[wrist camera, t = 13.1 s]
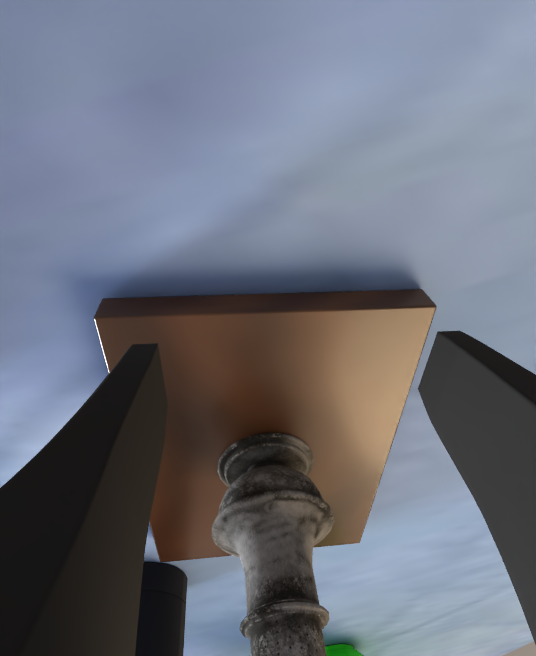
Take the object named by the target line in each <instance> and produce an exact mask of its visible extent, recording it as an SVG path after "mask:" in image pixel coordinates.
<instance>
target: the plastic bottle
mask: <svg viewBox="0 0 536 656" xmlns="http://www.w3.org/2000/svg"><path fill="white" fill-rule="evenodd" d="M325 649H326V655H327V656H363V655H362V654H361V653H359V652H358V651H357V650H354V648H353V646H352V645H346V644H338V645H330V646H326V647H325Z"/></svg>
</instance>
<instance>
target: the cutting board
mask: <svg viewBox="0 0 536 656" xmlns="http://www.w3.org/2000/svg"><path fill="white" fill-rule="evenodd" d="M435 310H436V305H435V303H434V302H433V301H432V300H431V299H430V298H429V296H428V295H427V294H426V293H425V292H424V291H423V290H422V289H414V290H380V291H345V292H311V293H277V294H243V295H209V296H175V297H141V298H107V299H102V301H101V303H100V305H99V307H98V310H97V312H96V314H95V316H94V321H95V325H96V328H97V332H98V336H99V339H100V343H101V347H102V350H103V354H104V358H105V361H106V365H107V369H108V372H109V373H110V372H111V370H112V369H113V368H114V366H115V365H116V364H117V363H118V361H119V360H120V359H121V357H122V356H123V355H124V353H125V352H126V351H127V349H128V348H129V347H130V346H131V345H132V344H151V343H158V347H159V353H160V359H161V365H162V371H163V377H164V383H165V389H166V395H167V401H168V407H167V423H166V435H165V443H164V449H163V454H162V459H161V464H160V470H159V475H158V480H157V485H156V490H155V495H154V500H153V505H152V510H151V516H150V521H149V522H150V526H151V530H152V533H153V537H154V541H155V544H156V548H157V552H158V555H159V559H160V562H170V561H180V560H190V559H200V558H210V557H221V556H231V554H229V553H227V552H225V551H223V550H222V549H221V548H220V547H218V546H217V545H216V544H215V542H214V540H213V538H212V524H213V523H214V521H215V519H216V517H217V516H218V514H219V507H220V504H221V502H222V499H223V497H224V494H225V492H226V491H227V489H228V486H227V485H225V483H224V482H223V481H222V480H221V479H220V477H219V474H218V461H219V459H220V457H221V455H222V453H223V452H224V451H225V450H226V449H227V448H228V447H229V446H231V445H232V444H234V443H236V442H237V441H239V440H241V439H244V438H246V437H249V436H252V435H257V434H263V433H282V434H287V435H292V436H294V437H296V438H299V439H301V440H302V441H303V442H305V443H306V444H307V445H308V446H309V447H310V449H311V451H312V453H313V459H314V463H313V466H312V470H311V471H310V472H309V474H308V475H307V477H309V478H310V479H311V481H312V482H313V483H314V485H315V486H316V487H317V489H318V490H319V492H320V493H321V495H322V496H323V500H324V501H325V502H326V503H328V504H329V506H330V507H331V509H332V510H333V513H334V524H333V526H332V529H331V531H330V532H329V533H328V534H327V536H326V537H325V538H324V539H323V540H322V541H320V542H319V543H317V544H316V545H315V546H313V547H322V546H333V545H343V544H353V543H360V540H361V537H362V534H363V531H364V528H365V525H366V522H367V519H368V516H369V513H370V510H371V507H372V504H373V501H374V497H375V494H376V491H377V488H378V485H379V482H380V479H381V476H382V473H383V470H384V467H385V464H386V461H387V458H388V454H389V451H390V448H391V445H392V442H393V439H394V436H395V433H396V430H397V427H398V424H399V421H400V418H401V415H402V411H403V408H404V405H405V402H406V399H407V396H408V393H409V390H410V387H411V384H412V381H413V378H414V375H415V372H416V369H417V365H418V362H419V359H420V356H421V353H422V350H423V347H424V344H425V341H426V338H427V335H428V332H429V329H430V326H431V322H432V319H433V316H434V313H435Z"/></svg>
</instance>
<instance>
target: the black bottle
mask: <svg viewBox="0 0 536 656" xmlns="http://www.w3.org/2000/svg"><path fill="white" fill-rule="evenodd" d="M186 592H187V577H186V575H185V574H184V572H183V571H181V570H179V569H178V568H176V567H173V566H170V565H167V564H161V563H143V573H142V583H141V593H140V604H139V615H138V627H137V638H136V650H135V656H183V648H184V629H185V610H186Z"/></svg>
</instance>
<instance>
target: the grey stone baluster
mask: <svg viewBox="0 0 536 656" xmlns="http://www.w3.org/2000/svg"><path fill="white" fill-rule="evenodd" d="M313 463H314V459H313V453H312V451H311V449H310V447H309V446H308V445H307V444H306V443H305V442H303V441H302V440H301V439H299V438H296V437H294V436H292V435H287V434H282V433H263V434H257V435H252V436H249V437H246V438H244V439H241V440H239V441H237V442H236V443H234V444H232V445H231V446H229V447H228V448H227V449H226V450H225V451H224V452H223V453H222V455H221V457H220V459H219V461H218V474H219V477H220V479H221V480H222V481H223V482H224V483H225V485H227V486H228V489H227V491H226V492H225V494H224V497H223V499H222V502H221V504H220V507H219V514H218V516H217V517H216V519H215V521H214V523H213V524H212V538H213V540H214V542H215V544H216V545H217V546H218V547H220V548H221V549H222V550H223V551H225V552H227V553H229V554H231V555H233V556H237V557H240V559H241V562H242V565H243V569H244V573H245V583H246V601H247V616H246V617H245V619H244V620H243V621H242V622H241V626H240V631H241V633H242V634H243V636H245V637H247V638H248V639H250V640H251V654H252V656H327V655H326V649H325V644H324V638H323V633H322V629H323V628H324V626H326V625H327V623H328V621H329V619H330V618H329V612H328V611H327V610H326V609H325V608H324V607H322V606H320V605H319V601H318V595H317V590H316V585H315V579H314V574H313V569H312V553H313V546H315V545H316V544H317V543H319V542H320V541H322V540H323V539H324V538H325V537H326V536H327V534H328V533H329V532H330V531H331V529H332V526H333V524H334V513H333V510H332V509H331V507H330V506H329V504H328V503H326V502H325V501H324V500H323V496H322V495H321V493H320V492H319V490H318V489H317V487H316V486H315V485H314V483H313V482H312V481H311V479H310V478H309V477H307V475H308V474H309V472H310V471H311V470H312V466H313Z"/></svg>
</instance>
